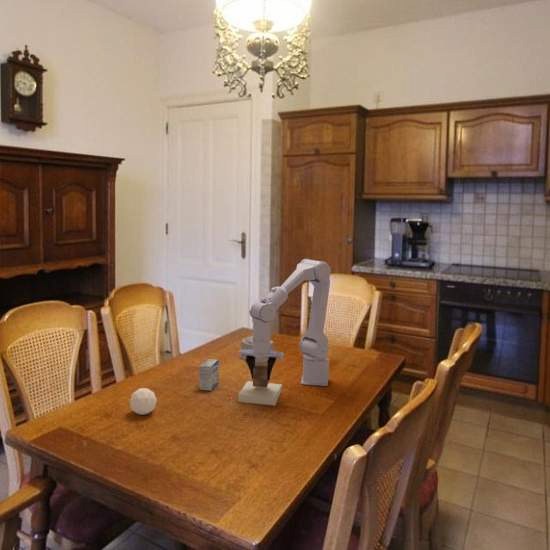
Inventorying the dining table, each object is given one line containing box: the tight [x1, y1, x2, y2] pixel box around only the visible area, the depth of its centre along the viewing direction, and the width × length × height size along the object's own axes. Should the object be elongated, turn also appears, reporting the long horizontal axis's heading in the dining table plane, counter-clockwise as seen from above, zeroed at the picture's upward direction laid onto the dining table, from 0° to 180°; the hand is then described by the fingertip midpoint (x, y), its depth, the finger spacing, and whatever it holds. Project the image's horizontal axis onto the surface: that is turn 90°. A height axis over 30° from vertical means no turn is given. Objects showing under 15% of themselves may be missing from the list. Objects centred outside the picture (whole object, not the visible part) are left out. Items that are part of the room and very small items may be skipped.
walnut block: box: [252, 363, 270, 387], centre depth 162 cm, size 5×5×6 cm
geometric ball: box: [129, 387, 158, 416], centre depth 148 cm, size 8×8×8 cm
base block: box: [237, 380, 283, 406], centre depth 163 cm, size 12×12×3 cm
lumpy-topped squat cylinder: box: [241, 335, 274, 364], centre depth 202 cm, size 10×13×9 cm
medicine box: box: [198, 358, 220, 392], centre depth 170 cm, size 8×4×9 cm, turn 168°
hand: (260, 378), depth 162 cm, fingers closed on walnut block, 4 cm apart
